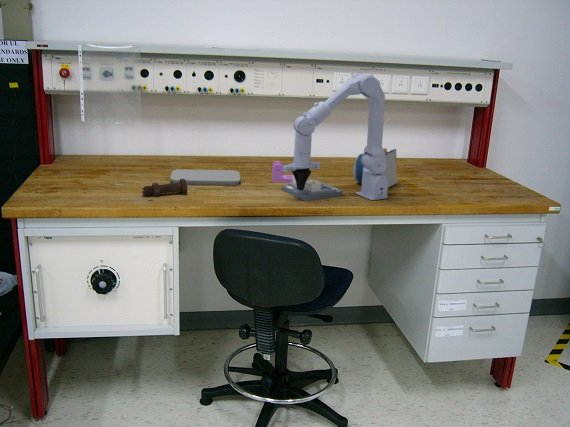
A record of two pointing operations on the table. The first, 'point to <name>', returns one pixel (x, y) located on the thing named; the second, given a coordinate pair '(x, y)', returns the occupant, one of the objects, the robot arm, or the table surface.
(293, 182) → the far tab
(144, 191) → the bolt
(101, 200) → the table surface
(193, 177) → the tablet
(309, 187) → the near tab
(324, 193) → the switch bank
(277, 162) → the bracket
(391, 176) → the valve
